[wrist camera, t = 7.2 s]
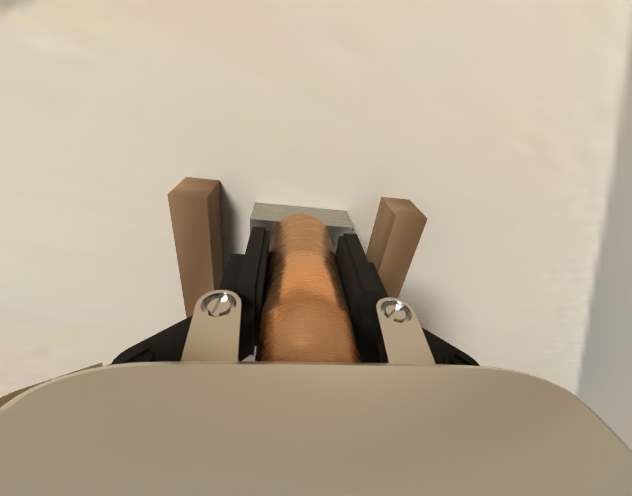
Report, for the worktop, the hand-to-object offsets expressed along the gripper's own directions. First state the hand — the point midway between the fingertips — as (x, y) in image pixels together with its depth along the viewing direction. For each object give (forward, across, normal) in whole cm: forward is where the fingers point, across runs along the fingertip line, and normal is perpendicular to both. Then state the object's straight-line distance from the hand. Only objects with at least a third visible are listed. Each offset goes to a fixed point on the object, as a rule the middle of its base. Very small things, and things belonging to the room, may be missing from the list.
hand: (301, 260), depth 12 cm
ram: (+4, 0, +2) cm, 4 cm away
